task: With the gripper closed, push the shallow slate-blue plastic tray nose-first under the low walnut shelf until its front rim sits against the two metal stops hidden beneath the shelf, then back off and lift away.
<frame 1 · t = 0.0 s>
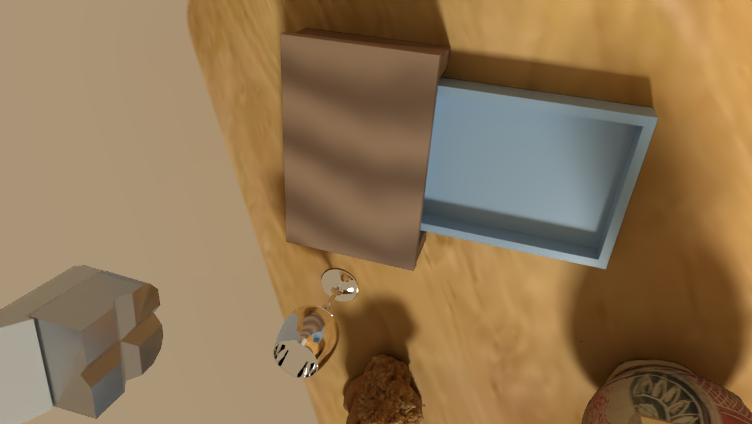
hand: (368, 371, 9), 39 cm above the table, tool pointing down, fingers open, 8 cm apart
stuffed squirrel: (391, 381, 65), on the table
shelf: (369, 141, 50), on the table
ceramic jug: (653, 383, 54), on the table
wineglass: (340, 284, 60), on the table
tray: (519, 167, 47), on the table
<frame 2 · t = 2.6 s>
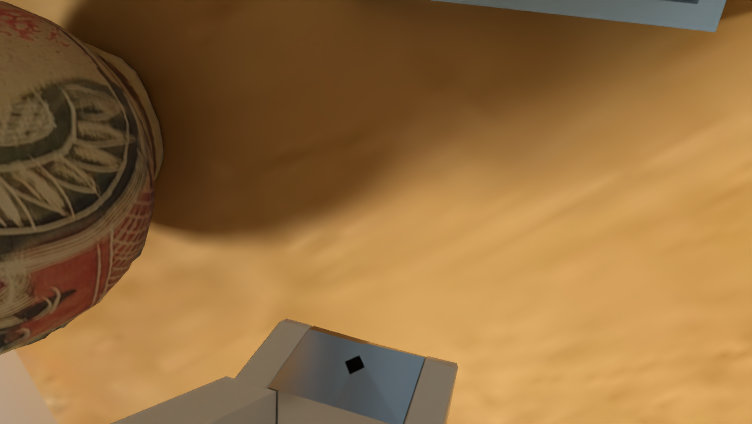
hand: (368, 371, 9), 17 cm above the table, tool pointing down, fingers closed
ceramic jug: (111, 122, 30), on the table
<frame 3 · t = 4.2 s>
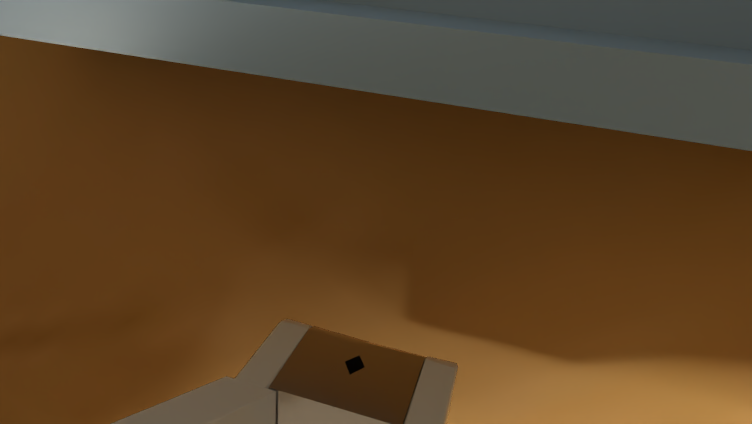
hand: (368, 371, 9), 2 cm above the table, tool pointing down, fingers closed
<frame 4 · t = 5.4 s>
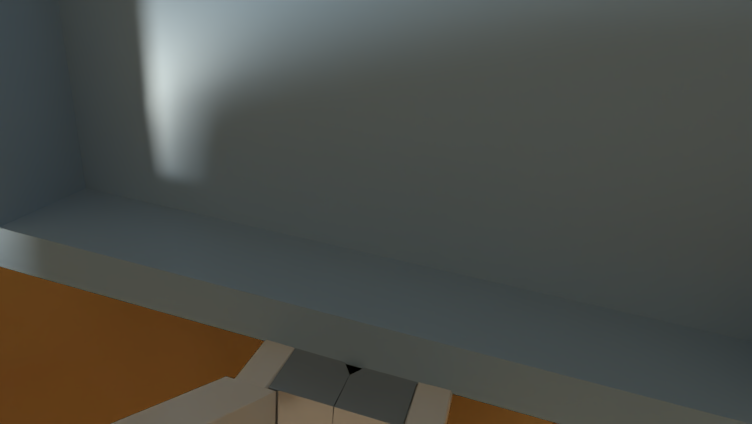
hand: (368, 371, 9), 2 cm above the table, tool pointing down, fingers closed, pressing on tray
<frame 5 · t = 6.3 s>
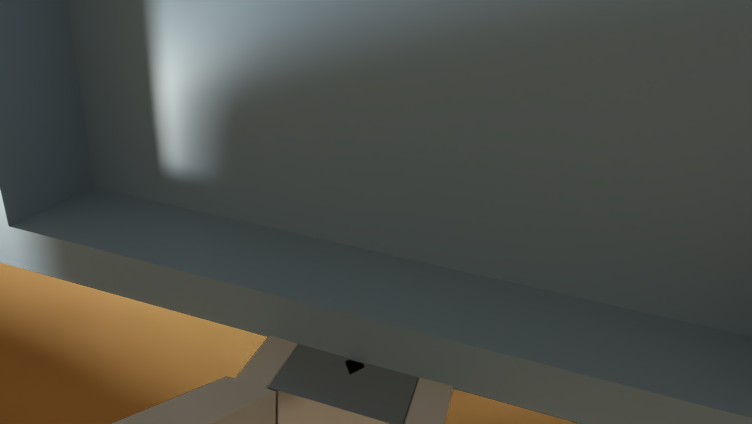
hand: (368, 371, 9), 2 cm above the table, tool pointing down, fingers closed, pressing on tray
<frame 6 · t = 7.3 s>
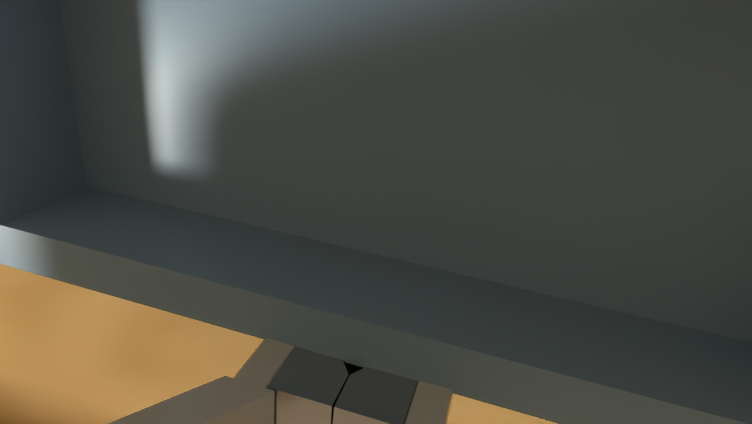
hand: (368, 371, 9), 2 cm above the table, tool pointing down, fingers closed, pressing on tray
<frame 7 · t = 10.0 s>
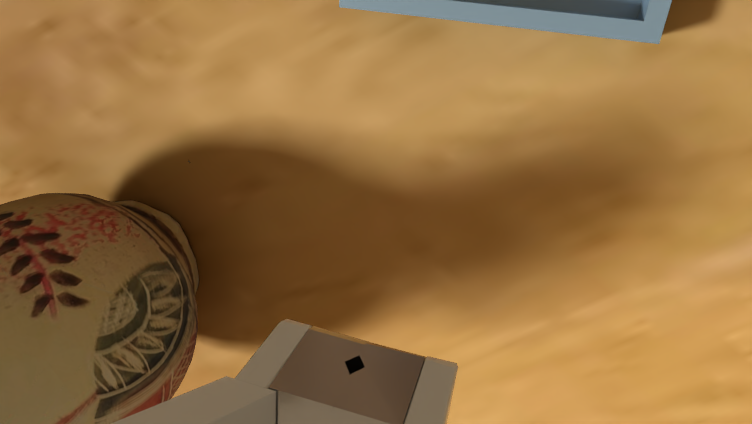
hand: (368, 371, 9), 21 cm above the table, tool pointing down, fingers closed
ceramic jug: (156, 255, 38), on the table
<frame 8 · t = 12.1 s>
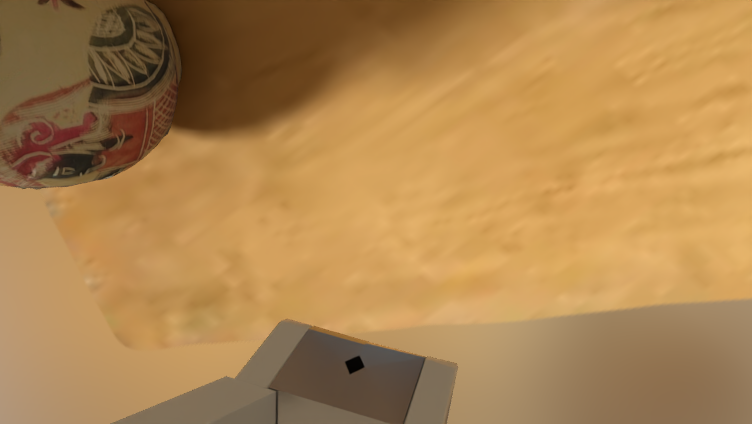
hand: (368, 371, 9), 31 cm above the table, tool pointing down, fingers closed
ceramic jug: (145, 52, 44), on the table
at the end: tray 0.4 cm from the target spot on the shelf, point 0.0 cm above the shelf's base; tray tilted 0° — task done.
